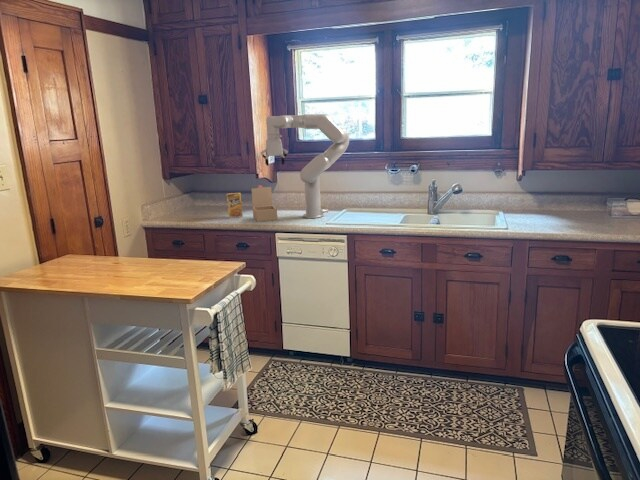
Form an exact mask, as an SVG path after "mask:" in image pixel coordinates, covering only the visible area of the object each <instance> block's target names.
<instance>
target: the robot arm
mask: <svg viewBox="0 0 640 480" xmlns="http://www.w3.org/2000/svg"><path fill="white" fill-rule="evenodd" d="M265 121H266V124H265V125H266V137H267V139H265V149H263V150H261V151H260V152H259V153H260V155H261V157H262V158H263V159H264V161H265V165H266V167H267V166H268V167H269V157H273V156H275V157H277V156H278V157H279V156H280V157H281V165H285V158H286V157H287V156H288V153H289V150H287V149H286V148H284V147H283V142H282V139H281V138H282V137H283V135H282V134H280V129H288V128H289V129H291V128H293V129H296V128H297V129H298V128H299V129H303V130H304V129H305V130H319V131H320V132H321V133H323V135H324V136H325V137H326V138H327V139H329V141H331V142H333V143H332V144H331V145H330V146H329V147H328V148H327V149H326V150H325V151H324V152H323V153H321V154H318V155H315V156H314V157H313V159H312V160H310V161H309V163H307V164H306V165H305V166H304V167H303V168H302V169H301V171H300V173H299V178H300V180H301V182H303V183H304V204H305V205H304V207H305V213H303V218H305V219H319V218H322V217H324V216H325V215H324V214H326V213H327V214H328V213H329V209H322V208H321V205H322V204H321V175H322V173H323V172H325V171H326V170H328V169H329V168H330V167H331V166H332V165H333V164H334V163H335V162H336V161H338V159H340V158H341V156H342V155H343V154H345V152H346V151H347V149H348V147H349V146H350V136H349V132H348V130H347V129H345V128H343V127H338V125H336V124H335V123H334V120H333V117H332V116H331V115H330V114H327V113H325V114H324V113H321V114H319V113H318V114H317V113H315V114H312V113H311V114H309V113H308V114H302V115H301V114H300V115H295V114H294V115H293V114H291V115H290V114H288V115H287V114H285V115H277V116H275V115H270V116H269V115H268V116H267V117H266V119H265ZM264 153H265V154H264Z"/></svg>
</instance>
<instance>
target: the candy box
mask: <svg viewBox="0 0 640 480" xmlns="http://www.w3.org/2000/svg"><path fill="white" fill-rule="evenodd" d="M225 195H226V204H227V205H226V206H227V215H228V218H229V219H231V218H243V217H244V216H243V203H242V193H241V192H231V193H230V192H229V193H226V194H225Z"/></svg>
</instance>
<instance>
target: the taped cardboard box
mask: <svg viewBox="0 0 640 480" xmlns="http://www.w3.org/2000/svg"><path fill="white" fill-rule="evenodd" d="M251 199H252V202H251V203H252V208H253V207H263V206H273V193H272V186H267V187H266V186H265V187H264V186H263V185H262V184H261V185H257V187H254V188H251Z"/></svg>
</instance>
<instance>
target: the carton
mask: <svg viewBox="0 0 640 480" xmlns="http://www.w3.org/2000/svg"><path fill="white" fill-rule="evenodd" d="M252 217H253V219H254V221H255V222H256V223H261V221H262V222H269V220H272V221H278V210H277V208H276V206H274V205H266V206H255V207H253V206H252Z"/></svg>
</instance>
